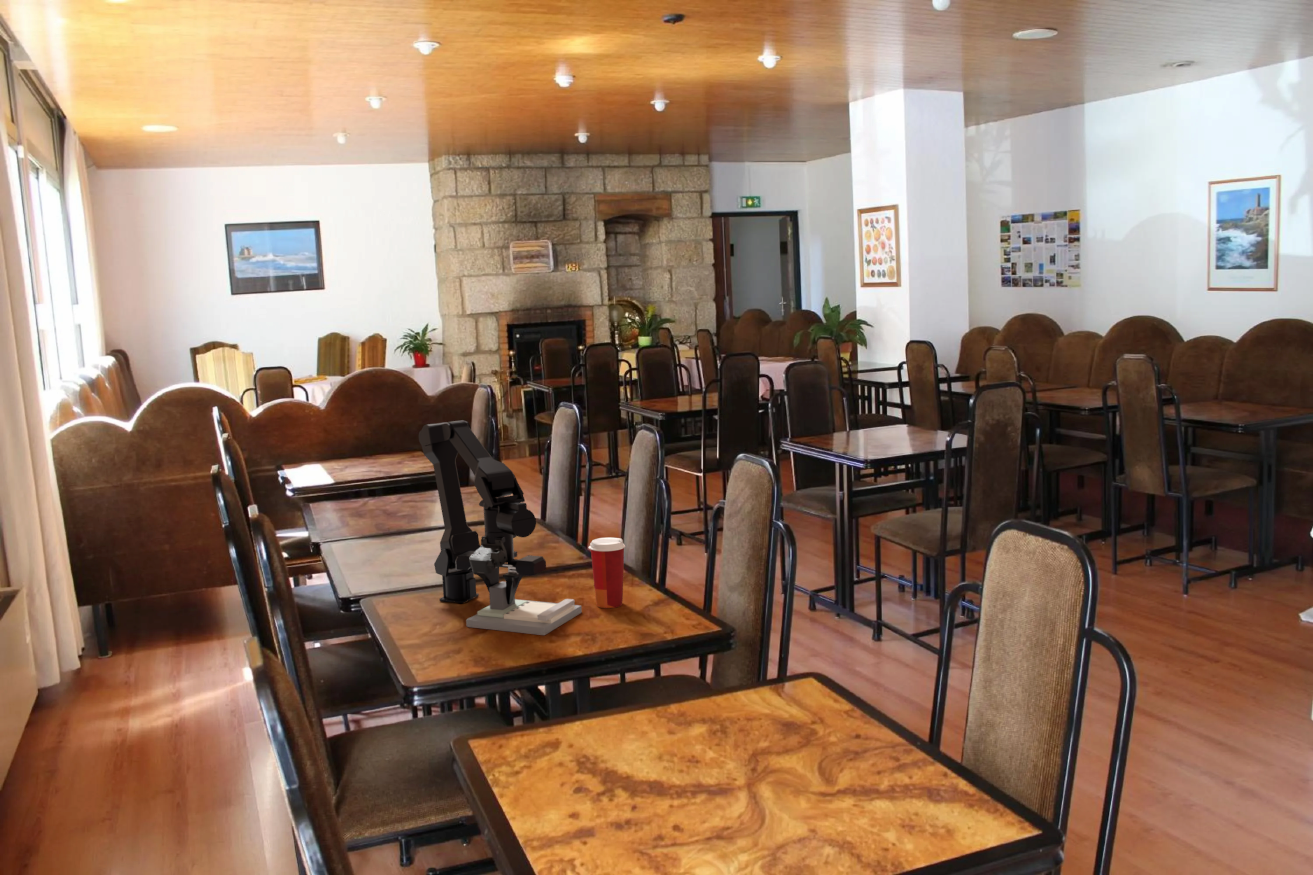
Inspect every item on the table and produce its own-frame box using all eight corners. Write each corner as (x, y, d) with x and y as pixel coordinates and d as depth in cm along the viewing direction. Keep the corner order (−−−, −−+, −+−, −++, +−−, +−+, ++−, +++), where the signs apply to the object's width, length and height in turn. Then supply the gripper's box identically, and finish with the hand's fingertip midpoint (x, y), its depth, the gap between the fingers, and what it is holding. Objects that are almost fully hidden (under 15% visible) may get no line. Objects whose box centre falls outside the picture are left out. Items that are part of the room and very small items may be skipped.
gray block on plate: (477, 615, 227) (476, 590, 226) (503, 601, 236) (501, 577, 235) (502, 617, 225) (501, 592, 224) (527, 604, 234) (526, 579, 233)
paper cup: (629, 599, 241) (627, 536, 239) (624, 609, 233) (622, 544, 231) (593, 599, 242) (591, 536, 240) (588, 609, 234) (585, 545, 232)
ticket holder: (466, 626, 225) (465, 610, 224) (507, 605, 239) (506, 590, 239) (544, 635, 218) (543, 618, 217) (581, 612, 232) (581, 597, 232)
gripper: (438, 535, 225) (442, 610, 227) (518, 541, 217) (521, 618, 219) (468, 524, 235) (472, 595, 237) (545, 529, 227) (549, 602, 229)
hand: (502, 603), depth 230 cm, fingers closed on gray block on plate, 3 cm apart
